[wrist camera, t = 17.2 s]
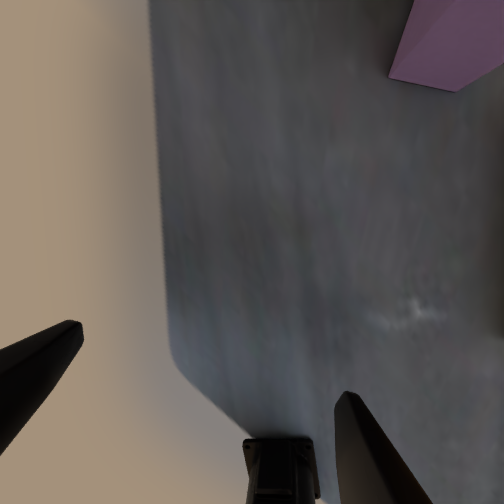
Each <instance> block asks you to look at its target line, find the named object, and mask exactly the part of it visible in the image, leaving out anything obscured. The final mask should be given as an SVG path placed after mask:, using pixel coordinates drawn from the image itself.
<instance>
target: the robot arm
mask: <svg viewBox="0 0 504 504" xmlns="http://www.w3.org/2000/svg"><path fill="white" fill-rule="evenodd" d="M83 342H84V335H83V327H82V324H81V323H80V322H78V321H74V320H66V321H63V322H61V323H59V324H57V325H54V326H52V327H50V328H47V329H45V330H43V331H41V332H38V333H36V334H34V335H32V336H29V337H27V338H25V339H23V340H21V341H18V342H16V343H14V344H12V345H9V346H7V347H5V348H3V349H0V456H1V454H2V453H3V452H4V451H5V449H6V448H7V447H8V446H9V444H10V443H11V442H12V441H13V439H14V438H15V437H16V435H17V434H18V433H19V432H20V431H21V429H22V428H23V427H24V426H25V424H26V423H27V422H28V421H29V419H30V418H31V417H32V416H33V414H34V413H35V412H36V411H37V409H38V408H39V407H40V405H41V404H42V403H43V402H44V401H45V399H46V398H47V397H48V395H49V394H50V393H51V391H52V390H53V389H54V387H55V386H56V384H57V383H58V381H59V380H60V378H61V377H62V375H63V374H64V372H65V371H66V369H67V368H68V366H69V365H70V363H71V362H72V360H73V359H74V357H75V356H76V354H77V353H78V351H79V349H80V348H81V346H82V344H83ZM334 420H335V450H336V467H337V476H338V484H339V492H340V500H341V504H433V503H432V502H431V500H430V499H429V497H428V496H427V494H426V493H425V491H424V490H423V488H422V487H421V486H420V484H419V483H418V481H417V480H416V478H415V477H414V475H413V474H412V472H411V471H410V469H409V468H408V466H407V465H406V464H405V462H404V461H403V459H402V458H401V456H400V455H399V453H398V452H397V450H396V449H395V447H394V446H393V444H392V443H391V442H390V440H389V439H388V437H387V436H386V434H385V433H384V431H383V430H382V428H381V427H380V425H379V424H378V423H377V421H376V420H375V418H374V417H373V415H372V414H371V412H370V411H369V409H368V408H367V406H366V405H365V403H364V402H363V401H362V399H361V398H360V396H359V395H358V394H356V393H353V392H349V391H345V392H343V394H342V395H341V397H340V398H339V400H338V401H337V403H336V405H335V408H334ZM242 447H243V452H244V457H245V461H246V466H247V471H248V475H249V486H248V492H247V499H246V504H315V499H319V498H320V496H321V494H320V486H319V480H318V473H317V466H316V459H315V452H314V445H313V441H312V440H310V439H245V440H244V441H243V446H242Z"/></svg>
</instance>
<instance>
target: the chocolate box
mask: <svg viewBox="0 0 504 504" xmlns="http://www.w3.org/2000/svg"><path fill="white" fill-rule="evenodd" d="M503 63H504V0H414V3H413V6H412V9H411V12H410V15H409V18H408V21H407V23H406V26H405V29H404V32H403V35H402V38H401V41H400V44H399V47H398V50H397V53H396V56H395V58H394V61H393V64H392V67H391V70H390V73H389V76H388V77H389V78H392V79H396V80H401V81H406V82H410V83H415V84H420V85H424V86H429V87H434V88H438V89H443V90H448V91H452V92H457V91H459V90H460V89H462V88H464V87H465V86H467V85H468V84H470V83H472V82H473V81H475V80H477V79H478V78H480V77H482V76H483V75H485V74H486V73H488V72H490V71H491V70H493V69H495V68H496V67H498V66H500V65H501V64H503Z"/></svg>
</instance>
